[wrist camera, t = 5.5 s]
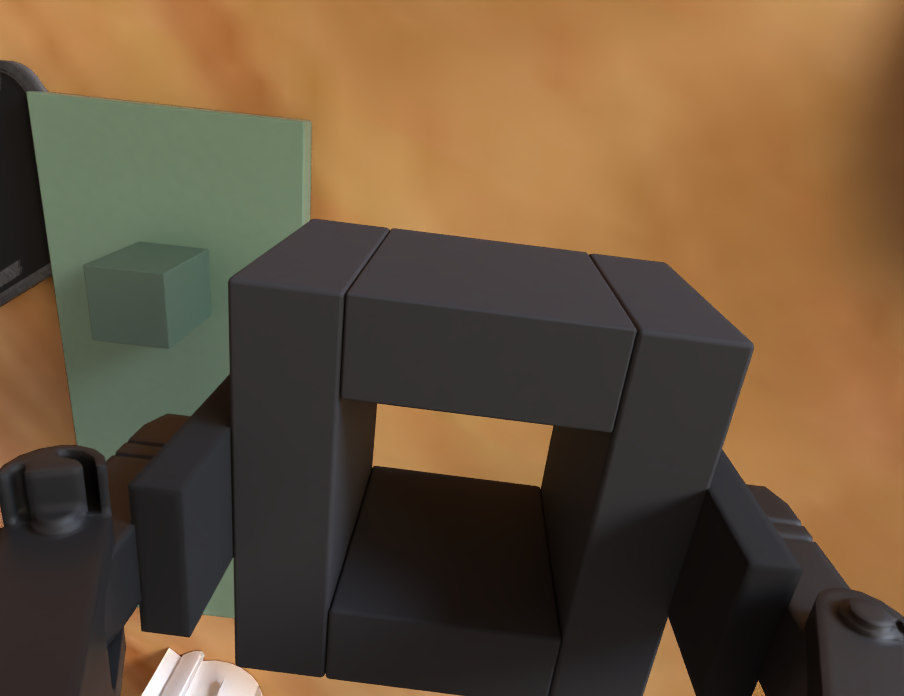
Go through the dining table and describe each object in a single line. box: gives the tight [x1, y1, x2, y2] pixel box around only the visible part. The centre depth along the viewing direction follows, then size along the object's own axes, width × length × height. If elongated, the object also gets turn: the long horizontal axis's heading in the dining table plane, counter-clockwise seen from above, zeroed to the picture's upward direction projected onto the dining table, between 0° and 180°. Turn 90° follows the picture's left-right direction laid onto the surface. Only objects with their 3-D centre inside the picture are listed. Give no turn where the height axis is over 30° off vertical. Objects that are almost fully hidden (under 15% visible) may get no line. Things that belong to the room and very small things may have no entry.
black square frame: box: [228, 219, 754, 696], centre depth 13 cm, size 8×8×5 cm
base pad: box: [26, 91, 312, 618], centre depth 28 cm, size 26×11×5 cm, turn 174°
